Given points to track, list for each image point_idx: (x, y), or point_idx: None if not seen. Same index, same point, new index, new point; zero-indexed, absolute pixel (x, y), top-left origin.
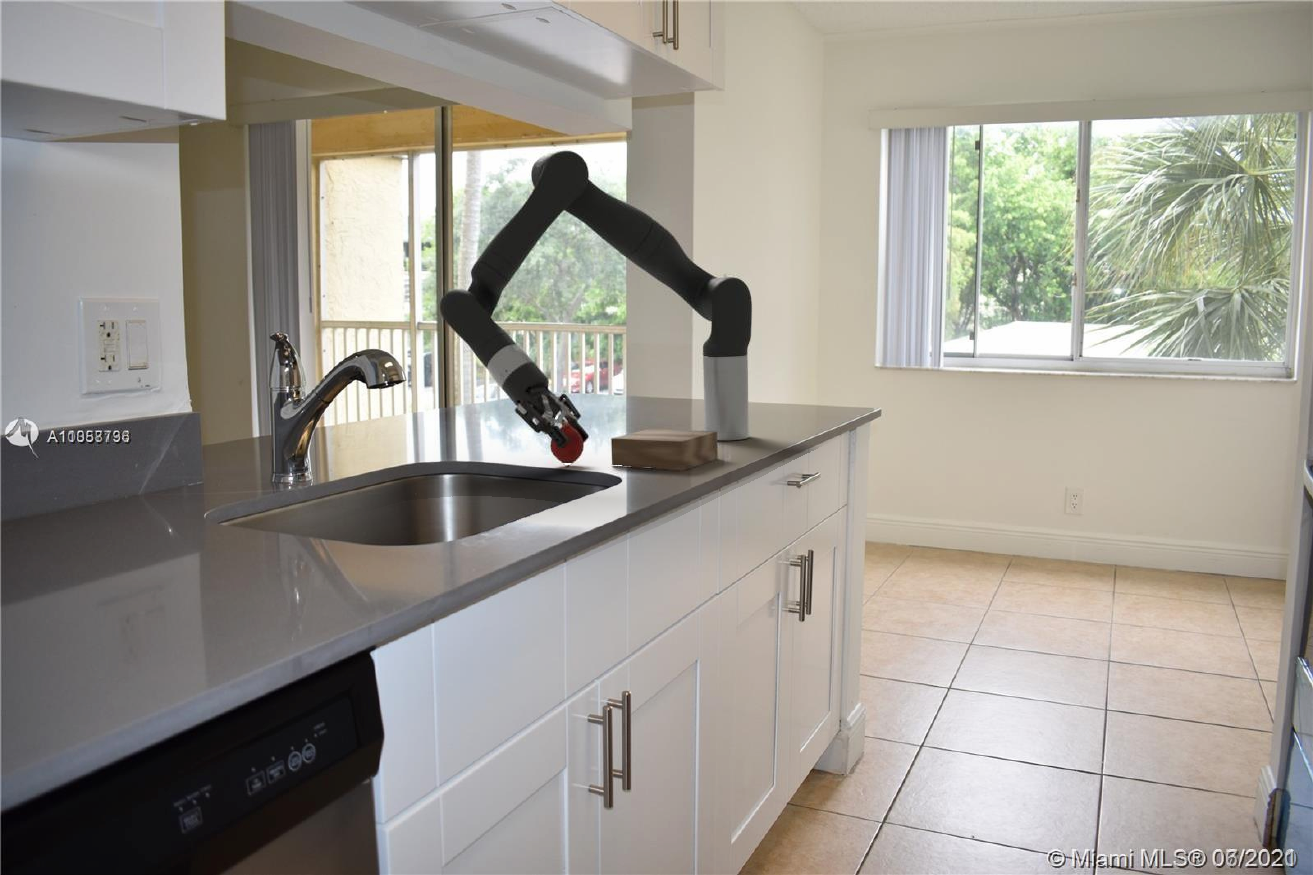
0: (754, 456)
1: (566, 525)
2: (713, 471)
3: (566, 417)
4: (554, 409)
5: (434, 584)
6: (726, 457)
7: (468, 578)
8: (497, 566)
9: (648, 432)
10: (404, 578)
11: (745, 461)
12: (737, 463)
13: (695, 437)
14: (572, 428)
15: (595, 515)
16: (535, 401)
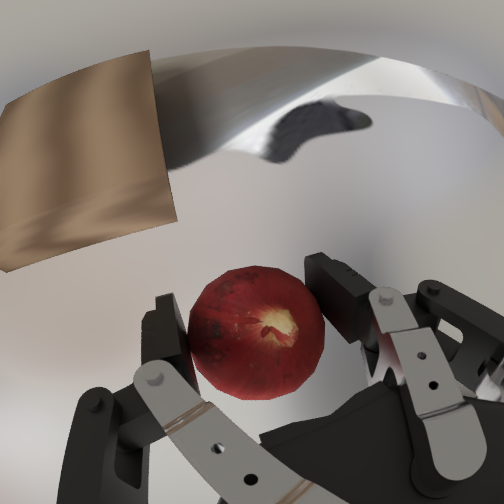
0: None
1: (428, 78)
2: None
3: (144, 471)
4: (327, 423)
5: (480, 92)
6: None
7: (471, 85)
8: (462, 82)
9: (16, 188)
10: (491, 105)
11: None
12: None
13: (87, 67)
14: (254, 293)
15: (404, 71)
16: (492, 414)
